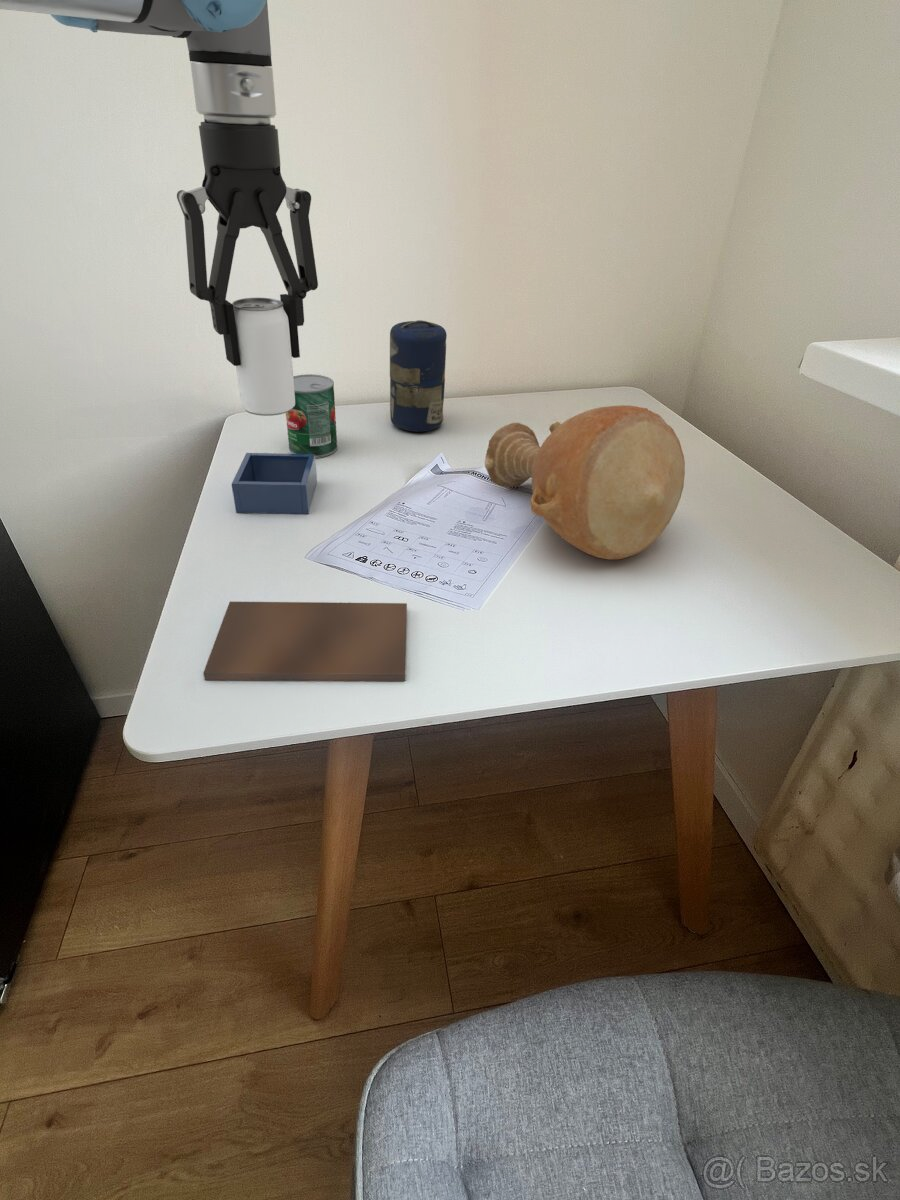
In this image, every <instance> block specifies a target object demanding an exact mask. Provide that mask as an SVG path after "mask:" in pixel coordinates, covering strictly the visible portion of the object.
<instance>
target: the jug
mask: <svg viewBox="0 0 900 1200" xmlns="http://www.w3.org/2000/svg"><path fill="white" fill-rule="evenodd" d="M548 430H549V431H550V434H549V435H548V436H547V437H546V438H545V440H543V442H542V444H541V445H540V443H539V440H538V438H537V436H536V433H535V432H534V431H533V430H532V429H531V427H529V426H527V425H525V424H523V423H520V422H511V423H509V424H506V425H504V426H502V427H500V428H498V429H497V430H495V432H494V433H493V435H492V436H491V438H489V440H488V446H487V449H486V453H485V458H484V459H485V460H484V468H485V470H486V471H487V475H488V476H489V479H490V480H491V481H492V483H494V484H495V485H498V486H500V487H504V488H515V487H517V486H521V485H522V484H524V483H526V481H528V480H529V479H530V478H531V489H532V495H531V499H530V510H531V512H532V513H533V514H534V515H535V516H537V517H541V518H543V520H544V521H545V523H547V525H548V526H549V527H550V528H551V529H552V530H553V532H555V533H556V534H557V535H558V536H559V537H561V538H562V539H563V540H564V541H566V542H567V543H568V544H570V545H571V546H573V547H574V548H576V549H577V550H579V551H581V552H582V553H583V552H584V553H585V554H587V555H590V556H592V557H595V558H598V559H604V560H623V559H626V558H628V557H631V556H632V557H633V556H635V555H637V554H639V553H641V552H642V551H644V550H645V549H647V548H648V547H649V546H651V545H652V544H653V543H654V542H655V541H656V540H657V539H658V538H659V536H660V535H662V533H663V532H664V531H665V529H666V528H667V526H668V525H669V524H670V522H671V520H672V518H673V516H674V514H675V513H676V511H677V508H678V506H679V503H680V501H681V497H682V494H683V492H684V491H683V490H684V485H685V476H686V475H685V474H686V462H685V455H684V452H683V449H682V448H683V447H682V445H681V441H680V439H679V437H678V436H677V434H676V432H675V430H674V428H673V427H672V426H671V425H670V424H668V423H667V422H666V421H665V419H664V418H663V417H662V416H661V415H660V414H659V413H656V412H654V411H651V410H649V409H648V408H647V407H641V406H637V405H622V404H621V405H620V404H619V405H608V406H600V407H595V408H592V409H588V410H586V411H583V412H580V413H578V414H576V415H574V416H572V417H569V418H568V419H566V420H565V421H563V422H562V423H560V422H559V421H555V422H553V423H552V424H551V425H550V426H549V428H548Z"/></svg>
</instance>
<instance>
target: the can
mask: <svg viewBox="0 0 900 1200" xmlns="http://www.w3.org/2000/svg"><path fill="white" fill-rule="evenodd" d="M231 304H233V307H234V315H235V323H236V331H237V339H238V346H239V354H240V362H241V365H238V366H235V368H236V376H237V383H238V391H239V399H240V404H241V405H240V406H241V408H242V409H244V411H245V412H247V413H249V414H251V415H255V416H262V417H263V416H264V417H272V416H273V417H274V416H279V415H284V414H286V413H287V412H289V411H290V410H292V409H293V407H294V406H295V392H294V379H293V376H294V369H293V367H294V366H293V357H292V355H291V343H290V331H289V321H288V316H287V314H286V312H285V311H284V309H283V302H282V301H281V300H279V299H276V298H270V297H245V298H239V299H236V300H234V301H233V302H232V303H231Z"/></svg>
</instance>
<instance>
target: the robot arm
mask: <svg viewBox="0 0 900 1200" xmlns="http://www.w3.org/2000/svg"><path fill="white" fill-rule="evenodd" d="M0 10H7V11H15V12H25V13H36V14H45V15H50V16H51V17H52V18H53V19H54V20H55V22H56V21H57V23H60V24H61V25H63V26H66V27H72V28H80V29H85V30H89V31H91V32H92V33H98V31H102V32H111V33H123V34H132V35H146V36H148V35H149V36H163V37H172V38H175V39H176V38H177V39H186V40H185V41H186V45H187V50H188V57H189V62H190V71H191V78H192V85H193V95H194V103H195V109H196V112H197V113H198V114H199V115H203V121H200V125H198V131H199V138H200V144H201V145H200V146H201V153H202V160H203V167H204V176H203V180H202V184H201V186H200V187H196V188H193V189H190V190H183V189H180V190H178V191H177V192H176V199H177V202H178V205H179V207H180V209H181V212H182V214H183V217H184V231H185V245H186V258H187V269H188V284H189V285H188V286H189V291H190V293H191V294H192V295H193V296H195V297H196V298H197V299H199V300H200V301H201V300H202V301H206V302H208V303H209V307H210V313H211V318H212V326H213V329H214V331H215V332H216V333H217V334H218V335H220V336H223V343H224V350H225V358H226V360H227V361H228V362H229V363H230V364H232V365H233V366H234V367H236V366H238V365H241V362H240V354H239V346H238V339H237V331H236V323H235V315H234V307H233V304H232V303H231V302H230V301H228V300H227V294H228V288H229V283H230V277H231V271H232V266H233V260H234V255H235V250H236V244H237V239H238V238H239V237H240V231H241V229H247V228H251V227H256V228H259V229H260V231H261V233H262V234H263V235H264V238H265V241H266V244H267V246H268V249H269V250H270V254H271V255H272V258H273V261H274V264H275V266H276V268H277V270H278V273H279V275H280V278H281V281H282V283H283V285H284V288H285V291H286V292H287V293H282V294H279V297H280V301H282V302H283V309H284V311H285V312H286V314H287V316H288V321H289V331H290V343H291V355H292V359H297V358H298V359H299V358H300V357H301V352H300V342H299V341H300V340H299V328H298V327H303V326H304V324H305V312H304V311H305V310H304V299H305V298H307V297H306V296H307V293H308V292H310V291H315V290H318V287H319V282H318V274H317V266H316V260H315V253H314V245H313V244H314V243H313V239H312V231H311V223H310V217H309V216H310V210H311V204H312V195H311V193H310V192H309V191H307V190H304V189H300V188H292V187H289V186H287V184H286V183H285V182H286V181H284V178H283V176H282V173H281V154H280V153H281V152H280V144H279V143H280V142H279V130H278V128H276V124H275V125H274V124H272V123H271V119H272V118H275V117H276V115H277V107H276V97H275V96H276V94H275V83H274V72H273V62H272V45H271V34H270V20H269V7H268V0H0ZM207 200H208V201H209V203H210V204H211V205H212V206H213V208H214V210H216V212H217V213H218V216H217V217H218V218H217V224H216V231H217V232H216V233H217V234H216V240H215V246H214V250H213V257H212V264H211V269H210V273H209V274H210V276H209V281H208V273H207V258H206V257H207V255H206V254H207V253H206V240H205V239H206V238H205V225H204V219H203V215H202V214H204V213H205V212H206V203H207V202H206V201H207ZM284 200H285V205H286V207H287V209H288V210H289V218H290V219H289V220H290V226H291V227H290V228H291V233H292V239H293V245H294V251H295V259H296V265H297V269H296V266H295V264H294V261H293V259H292V256H291V254H290V251H289V249H288V245H287V242H286V240H285V238H284V235H283V228H282V226H281V224H280V221H279V218H278V215H277V214H278V211H279V209H280V208H281V205H282V203H283V202H284Z"/></svg>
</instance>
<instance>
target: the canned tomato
mask: <svg viewBox="0 0 900 1200" xmlns="http://www.w3.org/2000/svg"><path fill="white" fill-rule="evenodd" d="M293 379H294V392H295V406H294V407H293V409H292V410H290V411H289V412H287V413H285V420H286V429H287V430H286V431H287V440H288V450H289V452H290V454H309V455H310V454H315V459H318V458H319V459H320V458H325V457H328V456H331V455H333V454H334V453H335V452H336V451H337V450H338V437H337V421H336V420H337V417H336V401H335V386H334V385H335V381H334V380H333V379H332V378H330V377H328V376H325V375H321V374H311V373H309V374H307V373H306V374H296V375H293Z"/></svg>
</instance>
